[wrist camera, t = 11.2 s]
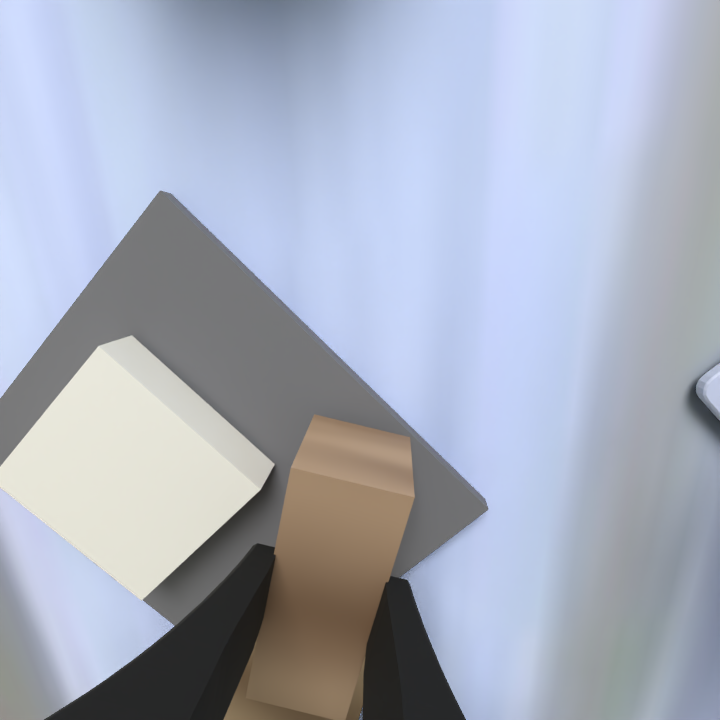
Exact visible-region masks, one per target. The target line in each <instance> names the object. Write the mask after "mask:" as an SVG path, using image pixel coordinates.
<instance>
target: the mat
mask: <svg viewBox="0 0 720 720" xmlns="http://www.w3.org/2000/svg"><path fill="white" fill-rule="evenodd" d="M131 335H132V336H133V337H134V338H136V339H137V340H138V341H139V342H140V343H141V344H142V345H143V346H144V347H145V348H147V349H148V350H149V351H150V352H151V353H152V354H153V355H154V356H155V357H157V358H158V359H159V360H160V361H161V362H162V363H163V364H164V365H165V366H167V367H168V368H169V369H170V370H171V371H172V372H173V373H174V374H175V375H177V376H178V377H179V378H180V379H181V380H182V381H183V382H184V383H185V384H187V385H188V386H189V387H190V388H191V389H192V390H193V391H194V392H195V393H197V394H198V395H199V396H200V397H201V398H202V399H203V400H204V401H205V402H206V403H208V404H209V405H210V406H211V407H212V408H213V409H214V410H215V411H216V412H218V413H219V414H220V415H221V416H222V417H223V418H224V419H225V420H226V421H228V422H229V423H230V424H231V425H232V426H233V427H234V428H235V429H236V430H238V431H239V432H240V433H241V434H242V435H243V436H244V437H245V438H246V439H248V440H249V441H250V442H251V443H252V444H253V445H254V446H255V447H256V448H258V449H259V450H260V451H261V452H262V453H263V454H264V455H265V456H266V457H267V458H269V459H270V460H271V461H272V462H273V463H274V464H275V465H274V467H273V468H272V470H271V472H270V474H269V476H268V477H267V479H266V481H265V483H264V485H263V487H262V488H261V490H260V491H259V492H258V493H257V494H256V495H254V496H253V497H252V498H251V499H250V500H249V501H248V502H247V503H246V504H245V505H244V506H243V507H242V508H241V509H239V510H238V511H237V512H236V513H235V514H234V515H233V516H232V517H231V518H230V519H229V520H228V521H227V522H225V523H224V524H223V525H222V526H221V527H220V528H219V529H218V530H217V531H216V532H215V533H214V534H213V535H212V536H210V537H209V538H208V539H207V540H206V541H205V542H204V543H203V544H202V545H201V546H200V547H199V548H198V549H196V550H195V551H194V552H193V553H192V554H191V555H190V556H189V557H188V558H187V559H186V560H185V561H184V562H183V563H181V564H180V565H179V566H178V567H177V568H176V569H175V570H174V571H173V572H172V573H171V574H170V575H169V576H167V577H166V578H165V579H164V580H163V581H162V582H161V583H160V584H159V585H158V586H157V587H156V588H155V589H154V590H152V591H151V592H150V593H149V594H148V595H147V596H146V597H145V598H144V599H143V601H145V602H146V603H147V604H148V605H150V606H151V607H152V608H153V609H155V610H156V611H157V612H158V613H160V614H161V615H162V616H163V617H165V618H166V619H167V620H168V621H170V622H171V623H172V624H173V625H175V626H176V625H177V624H178V623H179V622H180V621H181V620H182V619H183V618H184V617H186V616H187V615H188V614H189V613H190V612H191V611H192V610H193V609H194V608H195V607H197V606H198V605H199V604H200V603H201V602H202V601H203V600H204V599H205V598H206V597H207V596H208V595H209V594H210V593H211V592H212V591H213V590H214V589H215V588H216V587H217V586H218V585H219V584H220V583H221V582H222V581H223V580H224V579H225V578H226V577H227V576H228V574H229V573H230V572H231V571H232V570H233V569H234V568H235V567H236V566H237V565H238V563H239V562H240V561H241V560H242V559H243V558H244V556H245V555H246V554H247V553H248V551H249V550H250V549H251V547H252V546H253V545H255V544H257V543H259V544H263V545H267V546H272V547H275V546H276V540H277V535H278V530H279V525H280V520H281V515H282V510H283V505H284V500H285V495H286V490H287V484H288V479H289V474H290V469H291V466H292V464H293V461H294V459H295V457H296V455H297V452H298V450H299V448H300V446H301V443H302V441H303V439H304V436H305V434H306V432H307V430H308V427H309V425H310V423H311V421H312V418H313V416H314V414H315V415H319V416H323V417H328V418H332V419H336V420H340V421H344V422H349V423H353V424H357V425H361V426H365V427H369V428H374V429H378V430H382V431H386V432H390V433H395V434H399V435H403V436H407V437H410V442H411V455H412V468H413V481H414V494H415V498H414V501H413V505H412V508H411V511H410V514H409V517H408V521H407V524H406V527H405V530H404V533H403V537H402V540H401V543H400V546H399V549H398V553H397V556H396V559H395V562H394V566H393V569H392V572H391V575H390V576H393V577H397V578H399V577H401V576H402V575H403V574H404V573H406V572H407V571H408V570H410V569H411V568H412V567H414V566H415V565H416V564H418V563H419V562H420V561H421V560H423V559H424V558H425V557H427V556H428V555H429V554H431V553H432V552H433V551H435V550H436V549H437V548H438V547H440V546H441V545H442V544H444V543H445V542H446V541H448V540H449V539H450V538H452V537H453V536H454V535H455V534H457V533H458V532H459V531H461V530H462V529H463V528H465V527H466V526H467V525H469V524H470V523H471V522H473V521H474V520H475V519H476V518H478V517H479V516H480V515H482V514H483V513H484V512H486V511H487V510H488V506H487V503H486V501H485V498H484V497H483V496H481V495H480V494H479V493H478V492H477V491H476V490H475V489H474V488H473V487H472V486H471V485H470V484H469V483H468V482H467V481H466V480H465V479H464V478H463V477H462V476H461V475H460V474H459V473H458V472H457V471H456V470H455V469H454V468H453V467H452V466H451V465H450V464H449V463H448V462H447V461H445V460H444V459H443V458H442V457H441V456H440V455H439V454H438V453H437V452H436V451H435V450H434V449H433V448H432V447H431V446H430V445H429V444H428V443H427V442H426V441H425V440H424V439H423V438H422V437H421V436H420V435H419V434H418V433H417V432H416V431H415V430H414V429H413V428H412V427H411V426H409V425H408V424H407V423H406V422H405V421H404V420H403V419H402V418H401V417H400V416H399V415H398V414H397V413H396V412H395V411H394V410H393V409H392V408H391V407H390V406H389V405H388V404H387V403H386V402H385V401H384V400H383V399H382V398H381V397H380V396H379V395H378V394H377V393H376V392H375V391H373V390H372V389H371V388H370V387H369V386H368V385H367V384H366V383H365V382H364V381H363V380H362V379H361V378H360V377H359V376H358V375H357V374H356V373H355V372H354V371H353V370H352V369H351V368H350V367H349V366H348V365H347V364H346V363H345V362H344V361H343V360H342V359H341V358H340V357H339V356H337V355H336V354H335V353H334V352H333V351H332V350H331V349H330V348H329V347H328V346H327V345H326V344H325V343H324V342H323V341H322V340H321V339H320V338H319V337H318V336H317V335H316V334H315V333H314V332H313V331H312V330H311V329H310V328H309V327H308V326H307V325H306V324H305V323H304V322H303V321H301V320H300V319H299V318H298V317H297V316H296V315H295V314H294V313H293V312H292V311H291V310H290V309H289V308H288V307H287V306H286V305H285V304H284V303H283V302H282V301H281V300H280V299H279V298H278V297H277V296H276V295H275V294H274V293H273V292H272V291H271V290H270V289H269V288H268V287H267V286H265V285H264V284H263V283H262V282H261V281H260V280H259V279H258V278H257V277H256V276H255V275H254V274H253V273H252V272H251V271H250V270H249V269H248V268H247V267H246V266H245V265H244V264H243V263H242V262H241V261H240V260H239V259H238V258H237V257H236V256H235V255H234V254H233V253H232V252H231V251H229V250H228V249H227V248H226V247H225V246H224V245H223V244H222V243H221V242H220V241H219V240H218V239H217V238H216V237H215V236H214V235H213V234H212V233H211V232H210V231H209V230H208V229H207V228H206V227H205V226H204V225H203V224H202V223H201V222H200V221H199V220H198V219H197V218H196V217H195V216H193V215H192V214H191V213H190V212H189V211H188V210H187V209H186V208H185V207H184V206H183V205H182V204H181V203H180V202H179V201H178V200H177V199H176V198H175V197H174V196H173V195H172V194H171V193H167V192H163V191H159V193H158V194H157V195H156V197H155V198H154V199H153V200H152V202H151V203H150V204H149V206H148V207H147V208H146V210H145V211H144V212H143V213H142V215H141V216H140V217H139V219H138V220H137V221H136V223H135V224H134V225H133V226H132V228H131V229H130V230H129V232H128V233H127V234H126V236H125V237H124V238H123V240H122V241H121V242H120V243H119V245H118V246H117V247H116V249H115V250H114V251H113V253H112V254H111V255H110V256H109V258H108V259H107V260H106V262H105V263H104V264H103V266H102V267H101V268H100V269H99V271H98V272H97V273H96V275H95V276H94V277H93V279H92V280H91V281H90V283H89V284H88V285H87V286H86V288H85V289H84V290H83V292H82V293H81V294H80V296H79V297H78V298H77V299H76V301H75V302H74V303H73V305H72V306H71V307H70V309H69V310H68V311H67V312H66V314H65V315H64V316H63V318H62V319H61V320H60V322H59V323H58V324H57V325H56V327H55V328H54V329H53V331H52V332H51V333H50V335H49V336H48V337H47V339H46V340H45V341H44V342H43V344H42V345H41V346H40V348H39V349H38V350H37V352H36V353H35V354H34V355H33V357H32V358H31V359H30V361H29V362H28V363H27V365H26V366H25V367H24V368H23V370H22V371H21V372H20V374H19V375H18V376H17V378H16V379H15V380H14V382H13V383H12V384H11V385H10V387H9V388H8V389H7V391H6V392H5V393H4V395H3V396H2V397H1V398H0V466H1V465H2V464H3V463H4V461H5V460H6V459H7V458H8V456H9V455H10V454H11V453H12V452H13V450H14V449H15V448H16V447H17V445H18V444H19V443H20V442H21V440H22V439H23V438H24V437H25V436H26V434H27V433H28V432H29V431H30V429H31V428H32V427H33V426H34V425H35V423H36V422H37V421H38V420H39V418H40V417H41V416H42V415H43V413H44V412H45V411H46V410H47V409H48V407H49V406H50V405H51V404H52V402H53V401H54V400H55V399H56V398H57V396H58V395H59V394H60V393H61V391H62V390H63V389H64V388H65V386H66V385H67V384H68V383H69V382H70V380H71V379H72V378H73V377H74V375H75V374H76V373H77V372H78V371H79V369H80V368H81V367H82V366H83V364H84V363H85V362H86V361H87V359H88V358H89V357H90V356H91V355H92V353H93V352H94V351H95V350H96V348H97V347H98V346H100V345H103V344H106V343H109V342H112V341H115V340H119V339H122V338H125V337H128V336H131Z"/></svg>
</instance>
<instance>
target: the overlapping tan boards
mask: <svg viewBox="0 0 720 720" xmlns="http://www.w3.org/2000/svg"><path fill="white" fill-rule="evenodd" d="M414 498H415V494H414V481H413V468H412V455H411V442H410V437H407V436H403V435H399V434H395V433H390V432H386V431H382V430H378V429H374V428H369V427H365V426H361V425H357V424H353V423H349V422H344V421H340V420H336V419H332V418H328V417H323V416H319V415H315V414H314V416H313V418H312V421H311V423H310V425H309V427H308V430H307V432H306V434H305V436H304V439H303V441H302V443H301V446H300V448H299V450H298V452H297V455H296V457H295V459H294V461H293V464H292V466H291V469H290V474H289V479H288V484H287V490H286V495H285V500H284V505H283V510H282V515H281V520H280V525H279V530H278V535H277V540H276V546H275V551H274V555H276V557H275V562H274V568H273V573H272V578H271V583H270V588H269V593H268V598H267V603H266V608H265V613H264V618H263V621H262V624H261V628H260V631H259V634H258V637H257V640H256V643H255V646H254V649H253V651H252V654H251V656H250V659H249V661H248V663H247V666H246V668H245V670H244V673H243V675H242V677H241V680H240V682H239V684H238V687H237V689H236V692H235V694H234V696H233V699H232V701H231V703H230V706H229V708H228V710H227V713H226V715H225V717H224V720H358V719H359V716H360V713H361V710H362V707H363V675H364V665H365V655H366V646H367V642H368V638H369V635H370V632H371V629H372V625H373V622H374V619H375V616H376V612H377V609H378V606H379V603H380V600H381V596H382V593H383V590H384V587H385V583H386V582H389V578H390V575H391V572H392V569H393V566H394V562H395V559H396V556H397V553H398V549H399V546H400V543H401V540H402V537H403V533H404V530H405V527H406V524H407V521H408V517H409V514H410V511H411V508H412V505H413V501H414Z"/></svg>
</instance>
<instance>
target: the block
mask: <svg viewBox="0 0 720 720" xmlns="http://www.w3.org/2000/svg"><path fill="white" fill-rule="evenodd" d="M274 465H275V464H274V463H273V462H272V461H271V460H270V459H269V458H267V457H266V456H265V455H264V454H263V453H262V452H261V451H260V450H259V449H258V448H256V447H255V446H254V445H253V444H252V443H251V442H250V441H249V440H248V439H246V438H245V437H244V436H243V435H242V434H241V433H240V432H239V431H238V430H236V429H235V428H234V427H233V426H232V425H231V424H230V423H229V422H228V421H226V420H225V419H224V418H223V417H222V416H221V415H220V414H219V413H218V412H216V411H215V410H214V409H213V408H212V407H211V406H210V405H209V404H208V403H206V402H205V401H204V400H203V399H202V398H201V397H200V396H199V395H198V394H197V393H195V392H194V391H193V390H192V389H191V388H190V387H189V386H188V385H187V384H185V383H184V382H183V381H182V380H181V379H180V378H179V377H178V376H177V375H175V374H174V373H173V372H172V371H171V370H170V369H169V368H168V367H167V366H165V365H164V364H163V363H162V362H161V361H160V360H159V359H158V358H157V357H155V356H154V355H153V354H152V353H151V352H150V351H149V350H148V349H147V348H145V347H144V346H143V345H142V344H141V343H140V342H139V341H138V340H137V339H136V338H134V337H133V336H132V335H131V336H128V337H125V338H122V339H119V340H115V341H112V342H109V343H106V344H103V345H100V346H98V347H97V348H96V350H95V351H94V352H93V353H92V355H91V356H90V357H89V358H88V359H87V361H86V362H85V363H84V364H83V366H82V367H81V368H80V369H79V371H78V372H77V373H76V374H75V375H74V377H73V378H72V379H71V380H70V382H69V383H68V384H67V385H66V386H65V388H64V389H63V390H62V391H61V393H60V394H59V395H58V396H57V398H56V399H55V400H54V401H53V402H52V404H51V405H50V406H49V407H48V409H47V410H46V411H45V412H44V413H43V415H42V416H41V417H40V418H39V420H38V421H37V422H36V423H35V425H34V426H33V427H32V428H31V429H30V431H29V432H28V433H27V434H26V436H25V437H24V438H23V439H22V440H21V442H20V443H19V444H18V445H17V447H16V448H15V449H14V450H13V452H12V453H11V454H10V455H9V456H8V458H7V459H6V460H5V461H4V463H3V464H2V465H1V466H0V488H1V489H3V490H4V491H5V492H6V493H8V494H9V495H10V496H11V497H13V498H14V499H15V500H16V501H18V502H19V503H20V504H21V505H23V506H24V507H25V508H26V509H28V510H29V511H30V512H31V513H33V514H34V515H35V516H36V517H38V518H39V519H40V520H41V521H43V522H44V523H45V524H46V525H48V526H49V527H50V528H51V529H53V530H54V531H55V532H56V533H58V534H59V535H60V536H61V537H63V538H64V539H65V540H66V541H68V542H69V543H70V544H71V545H73V546H74V547H75V548H76V549H78V550H79V551H80V552H81V553H83V554H84V555H85V556H86V557H88V558H89V559H90V560H91V561H93V562H94V563H95V564H96V565H98V566H99V567H100V568H101V569H103V570H104V571H105V572H106V573H108V574H109V575H110V576H111V577H113V578H114V579H115V580H116V581H118V582H119V583H120V584H121V585H123V586H124V587H125V588H126V589H128V590H129V591H130V592H131V593H133V594H134V595H135V596H136V597H138V598H139V599H140V600H141V601H142V600H143V599H144V598H145V597H146V596H147V595H148V594H149V593H150V592H151V591H152V590H154V589H155V588H156V587H157V586H158V585H159V584H160V583H161V582H162V581H163V580H164V579H165V578H166V577H167V576H169V575H170V574H171V573H172V572H173V571H174V570H175V569H176V568H177V567H178V566H179V565H180V564H181V563H183V562H184V561H185V560H186V559H187V558H188V557H189V556H190V555H191V554H192V553H193V552H194V551H195V550H196V549H198V548H199V547H200V546H201V545H202V544H203V543H204V542H205V541H206V540H207V539H208V538H209V537H210V536H212V535H213V534H214V533H215V532H216V531H217V530H218V529H219V528H220V527H221V526H222V525H223V524H224V523H225V522H227V521H228V520H229V519H230V518H231V517H232V516H233V515H234V514H235V513H236V512H237V511H238V510H239V509H241V508H242V507H243V506H244V505H245V504H246V503H247V502H248V501H249V500H250V499H251V498H252V497H253V496H254V495H256V494H257V493H258V492H259V491H260V490H261V488H262V487H263V485H264V483H265V481H266V479H267V477H268V476H269V474H270V472H271V470H272V468H273V467H274Z"/></svg>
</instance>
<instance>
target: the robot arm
mask: <svg viewBox="0 0 720 720" xmlns="http://www.w3.org/2000/svg"><path fill="white" fill-rule="evenodd" d="M696 393H697V395H698V397H699V398H700V399H701V400H702V401H703V403H704V404H705V405H706V406H707V407H708V408H709V409H710V410H711V412H712V413H713V414H714V415H715V416H716V417H717V418H718V419H719V421H720V363H719V364H718V365H716V366H715V367H713V368H712V369H711V370H709V371H708V372H707V373H705V374H704V375H703V376H702V377H701V378H700V379H699V380H698V383H697V385H696ZM274 551H275V547H272V546H267V545H263V544H259V543H257V544H255V545H253V546H252V547H251V549H250V550H249V551H248V553H247V554H246V555H245V556H244V558H243V559H242V560H241V561H240V562H239V563H238V565H237V566H236V567H235V568H234V569H233V570H232V571H231V572H230V573H229V574H228V576H227V577H226V578H225V579H224V580H223V581H222V582H221V583H220V584H219V585H218V586H217V587H216V588H215V589H214V590H213V591H212V592H211V593H210V594H209V595H208V596H207V597H206V598H205V599H204V600H203V601H202V602H201V603H200V604H199V605H198V606H197V607H195V608H194V609H193V610H192V611H191V612H190V613H189V614H188V615H187V616H186V617H184V618H183V619H182V620H181V621H180V622H179V623H178V624H177V625H176V626H174V627H173V628H172V629H171V630H170V631H169V632H167V633H166V634H165V635H164V636H163V637H161V638H160V639H159V640H158V641H157V642H155V643H154V644H153V645H152V646H150V647H149V648H148V649H147V650H145V651H144V652H143V653H141V654H140V655H139V656H138V657H136V658H135V659H134V660H132V661H131V662H130V663H128V664H127V665H125V666H124V667H123V668H121V669H120V670H119V671H117V672H116V673H114V674H113V675H112V676H110V677H109V678H108V679H106V680H105V681H103V682H102V683H100V684H99V685H97V686H96V687H95V688H93V689H92V690H90V691H89V692H87V693H86V694H84V695H82V696H81V697H79V698H78V699H76V700H75V701H73V702H71V703H70V704H68V705H67V706H65V707H63V708H62V709H60V710H59V711H57V712H56V713H54V714H52V715H51V716H49V717H48V718H46V719H44V720H224V717H225V715H226V713H227V710H228V708H229V706H230V703H231V701H232V699H233V696H234V694H235V692H236V689H237V687H238V684H239V682H240V680H241V677H242V675H243V673H244V670H245V668H246V666H247V663H248V661H249V659H250V656H251V654H252V651H253V649H254V646H255V643H256V640H257V637H258V634H259V631H260V628H261V624H262V621H263V618H264V613H265V608H266V603H267V598H268V593H269V588H270V583H271V578H272V573H273V568H274V562H275V557H276V555H274ZM363 720H466V719H465V717H464V715H463V713H462V711H461V709H460V707H459V705H458V703H457V701H456V699H455V697H454V695H453V693H452V691H451V688H450V686H449V684H448V682H447V680H446V678H445V676H444V673H443V671H442V669H441V667H440V664H439V662H438V660H437V657H436V655H435V652H434V650H433V648H432V645H431V643H430V640H429V638H428V635H427V633H426V630H425V628H424V625H423V622H422V619H421V617H420V614H419V611H418V608H417V605H416V602H415V599H414V596H413V593H412V590H411V587H410V584H409V582H408V581H407V580H405V579H401V578H397V577H393V576H390V578H389V582H386V583H385V587H384V590H383V593H382V596H381V600H380V603H379V606H378V609H377V612H376V616H375V619H374V622H373V625H372V629H371V632H370V635H369V638H368V642H367V646H366V655H365V665H364V675H363Z"/></svg>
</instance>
